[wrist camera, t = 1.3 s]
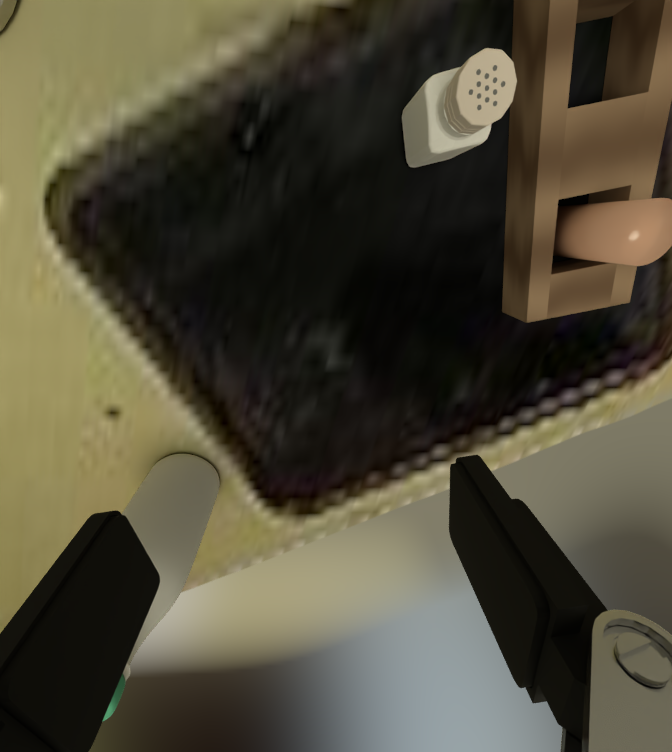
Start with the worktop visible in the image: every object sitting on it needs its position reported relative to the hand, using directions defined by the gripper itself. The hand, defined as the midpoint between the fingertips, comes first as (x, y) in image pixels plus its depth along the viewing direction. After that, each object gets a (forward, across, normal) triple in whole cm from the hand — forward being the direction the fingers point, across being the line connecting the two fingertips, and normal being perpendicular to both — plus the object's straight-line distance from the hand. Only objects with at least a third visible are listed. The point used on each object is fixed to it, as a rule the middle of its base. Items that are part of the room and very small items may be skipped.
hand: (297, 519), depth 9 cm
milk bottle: (+24, +17, +17) cm, 33 cm away
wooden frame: (+23, -23, -10) cm, 34 cm away
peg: (+23, -23, -4) cm, 33 cm away
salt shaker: (+24, -12, -13) cm, 29 cm away
